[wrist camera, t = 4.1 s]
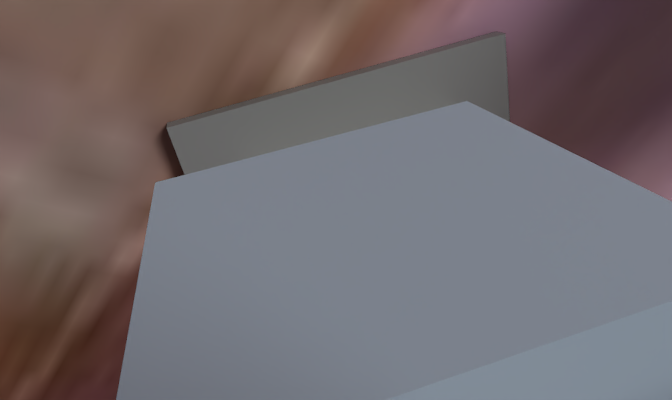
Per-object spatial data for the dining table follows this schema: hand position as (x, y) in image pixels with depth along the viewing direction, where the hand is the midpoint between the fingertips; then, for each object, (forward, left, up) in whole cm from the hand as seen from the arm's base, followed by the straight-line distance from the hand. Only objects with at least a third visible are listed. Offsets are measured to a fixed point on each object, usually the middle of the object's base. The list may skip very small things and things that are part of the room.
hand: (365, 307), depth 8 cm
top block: (0, 0, -1) cm, 1 cm away
